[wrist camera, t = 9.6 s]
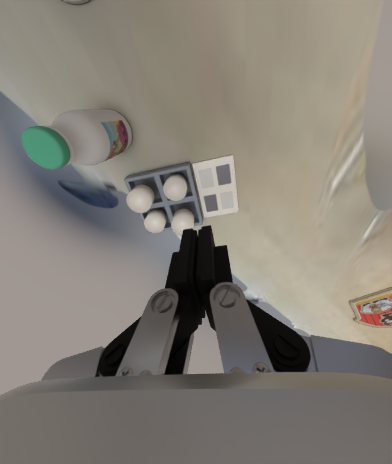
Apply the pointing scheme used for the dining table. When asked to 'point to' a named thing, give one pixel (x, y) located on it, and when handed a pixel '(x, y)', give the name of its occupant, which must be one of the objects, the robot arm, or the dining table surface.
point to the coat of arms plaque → (374, 309)
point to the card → (216, 186)
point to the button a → (140, 198)
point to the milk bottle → (78, 138)
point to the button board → (156, 183)
